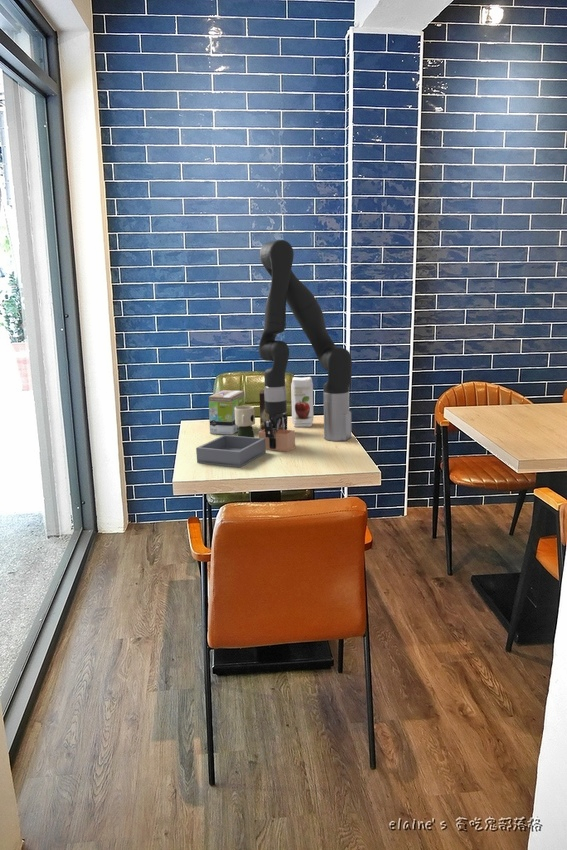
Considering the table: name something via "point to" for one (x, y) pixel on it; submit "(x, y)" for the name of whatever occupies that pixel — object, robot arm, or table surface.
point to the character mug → (245, 420)
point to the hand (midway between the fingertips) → (277, 445)
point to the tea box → (224, 411)
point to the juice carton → (302, 401)
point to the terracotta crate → (281, 440)
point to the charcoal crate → (231, 450)
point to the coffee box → (263, 411)
